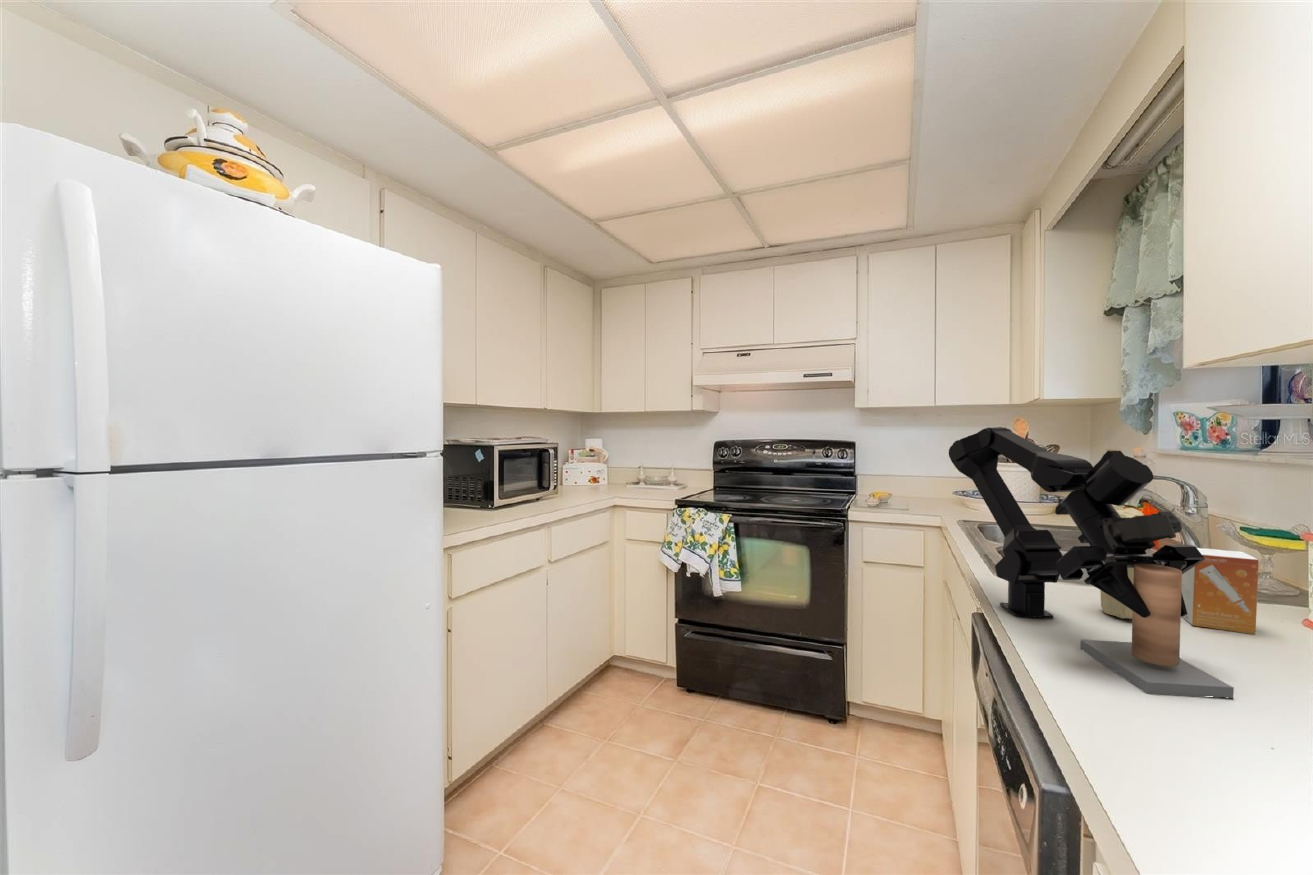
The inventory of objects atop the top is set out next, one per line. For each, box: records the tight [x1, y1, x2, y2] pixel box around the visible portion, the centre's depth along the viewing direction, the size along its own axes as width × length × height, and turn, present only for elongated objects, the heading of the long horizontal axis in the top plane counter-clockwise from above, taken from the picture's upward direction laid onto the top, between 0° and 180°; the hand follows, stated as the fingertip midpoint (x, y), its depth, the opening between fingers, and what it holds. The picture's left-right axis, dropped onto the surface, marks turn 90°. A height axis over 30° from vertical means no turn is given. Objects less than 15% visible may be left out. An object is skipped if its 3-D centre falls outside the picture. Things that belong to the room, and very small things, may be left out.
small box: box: [1182, 547, 1260, 635], centre depth 95 cm, size 8×6×13 cm
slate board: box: [1080, 639, 1235, 699], centre depth 77 cm, size 14×10×2 cm
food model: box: [1099, 507, 1148, 620], centre depth 99 cm, size 10×7×20 cm
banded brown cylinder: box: [1131, 564, 1182, 666], centre depth 76 cm, size 5×5×13 cm
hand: (1165, 616), depth 75 cm, fingers closed on banded brown cylinder, 5 cm apart
